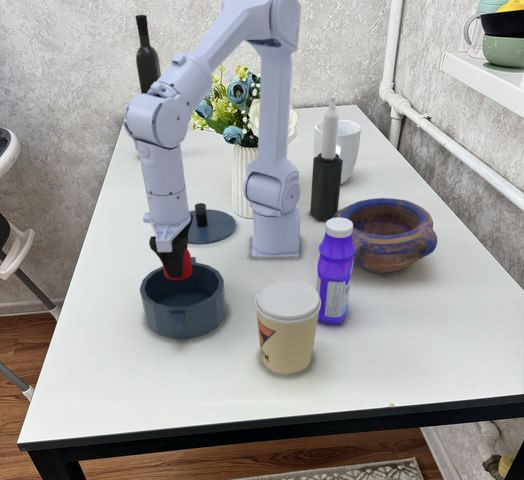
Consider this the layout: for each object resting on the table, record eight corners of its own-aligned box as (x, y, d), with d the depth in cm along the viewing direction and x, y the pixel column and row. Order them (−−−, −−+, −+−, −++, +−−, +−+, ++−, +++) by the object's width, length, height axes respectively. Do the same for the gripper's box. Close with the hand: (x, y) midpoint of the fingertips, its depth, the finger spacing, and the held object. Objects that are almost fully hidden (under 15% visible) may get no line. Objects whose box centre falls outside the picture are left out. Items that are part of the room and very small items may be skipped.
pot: (228, 283, 92) (226, 253, 88) (222, 352, 78) (219, 320, 74) (156, 283, 92) (150, 253, 88) (137, 352, 78) (129, 321, 74)
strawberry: (194, 264, 82) (190, 235, 78) (191, 280, 78) (187, 251, 75) (166, 264, 82) (161, 236, 78) (162, 280, 78) (157, 251, 75)
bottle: (345, 329, 82) (357, 236, 70) (311, 325, 83) (318, 233, 71) (348, 303, 87) (360, 213, 75) (316, 300, 88) (323, 210, 76)
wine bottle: (151, 126, 156) (133, 13, 136) (169, 127, 155) (153, 13, 135) (146, 133, 152) (127, 17, 131) (164, 133, 151) (148, 17, 131)
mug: (356, 197, 118) (363, 141, 109) (310, 195, 119) (313, 140, 110) (354, 171, 129) (360, 119, 120) (312, 170, 130) (315, 118, 121)
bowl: (327, 238, 104) (331, 193, 97) (411, 237, 104) (421, 192, 97) (337, 287, 91) (343, 239, 84) (434, 286, 91) (447, 238, 84)
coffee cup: (254, 340, 80) (252, 279, 72) (310, 336, 81) (315, 275, 72) (258, 381, 73) (257, 319, 65) (320, 377, 74) (327, 315, 66)
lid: (237, 213, 112) (236, 190, 109) (234, 246, 102) (233, 222, 98) (174, 213, 113) (170, 190, 109) (164, 247, 102) (160, 222, 98)
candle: (320, 222, 109) (329, 101, 92) (308, 213, 112) (314, 94, 95) (339, 217, 110) (351, 97, 94) (326, 208, 114) (336, 90, 97)
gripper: (146, 167, 76) (160, 244, 85) (127, 211, 65) (145, 294, 74) (192, 166, 76) (200, 243, 85) (180, 210, 65) (191, 293, 74)
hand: (177, 267), depth 79 cm, fingers closed on strawberry, 4 cm apart
